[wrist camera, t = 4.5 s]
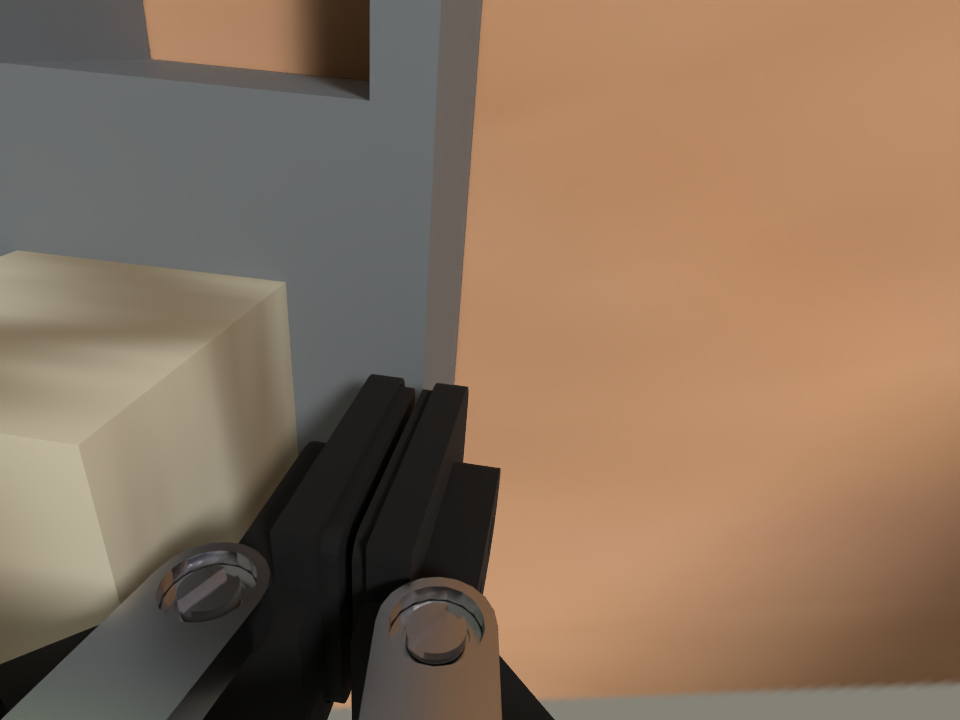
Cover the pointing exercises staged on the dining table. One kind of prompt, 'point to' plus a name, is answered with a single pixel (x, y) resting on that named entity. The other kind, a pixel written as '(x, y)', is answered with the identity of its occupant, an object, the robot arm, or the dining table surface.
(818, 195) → the dining table surface
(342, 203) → the board
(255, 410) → the maple block
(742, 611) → the dining table surface
